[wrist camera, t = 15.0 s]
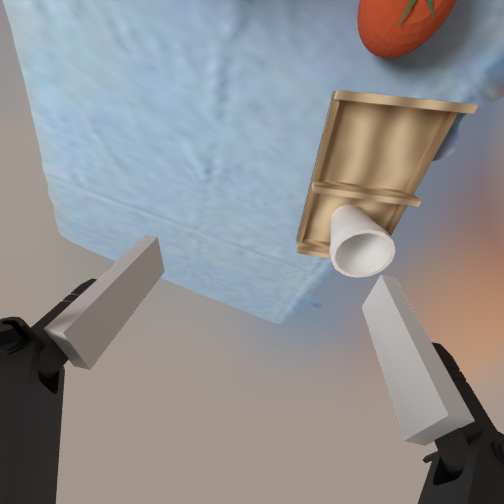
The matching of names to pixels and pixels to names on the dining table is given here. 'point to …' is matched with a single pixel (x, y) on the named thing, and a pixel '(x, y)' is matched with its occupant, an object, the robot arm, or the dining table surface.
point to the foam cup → (359, 243)
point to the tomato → (399, 24)
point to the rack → (372, 160)
